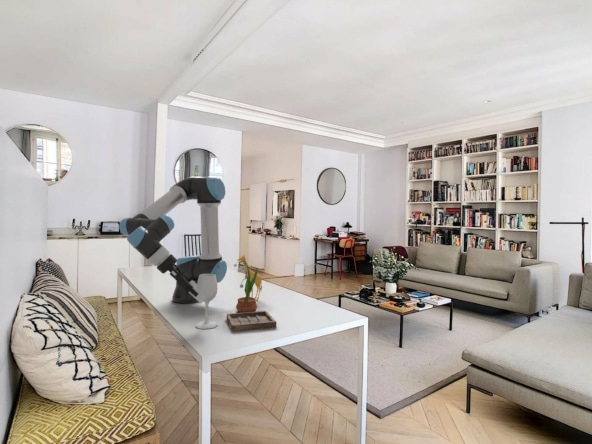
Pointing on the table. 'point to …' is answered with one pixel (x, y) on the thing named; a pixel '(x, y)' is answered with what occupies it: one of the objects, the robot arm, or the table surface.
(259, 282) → the yellow flower sprig
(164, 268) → the robot arm
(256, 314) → the wooden tray
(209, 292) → the wineglass
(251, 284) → the potted flower
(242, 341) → the table surface
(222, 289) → the table surface
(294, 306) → the table surface
